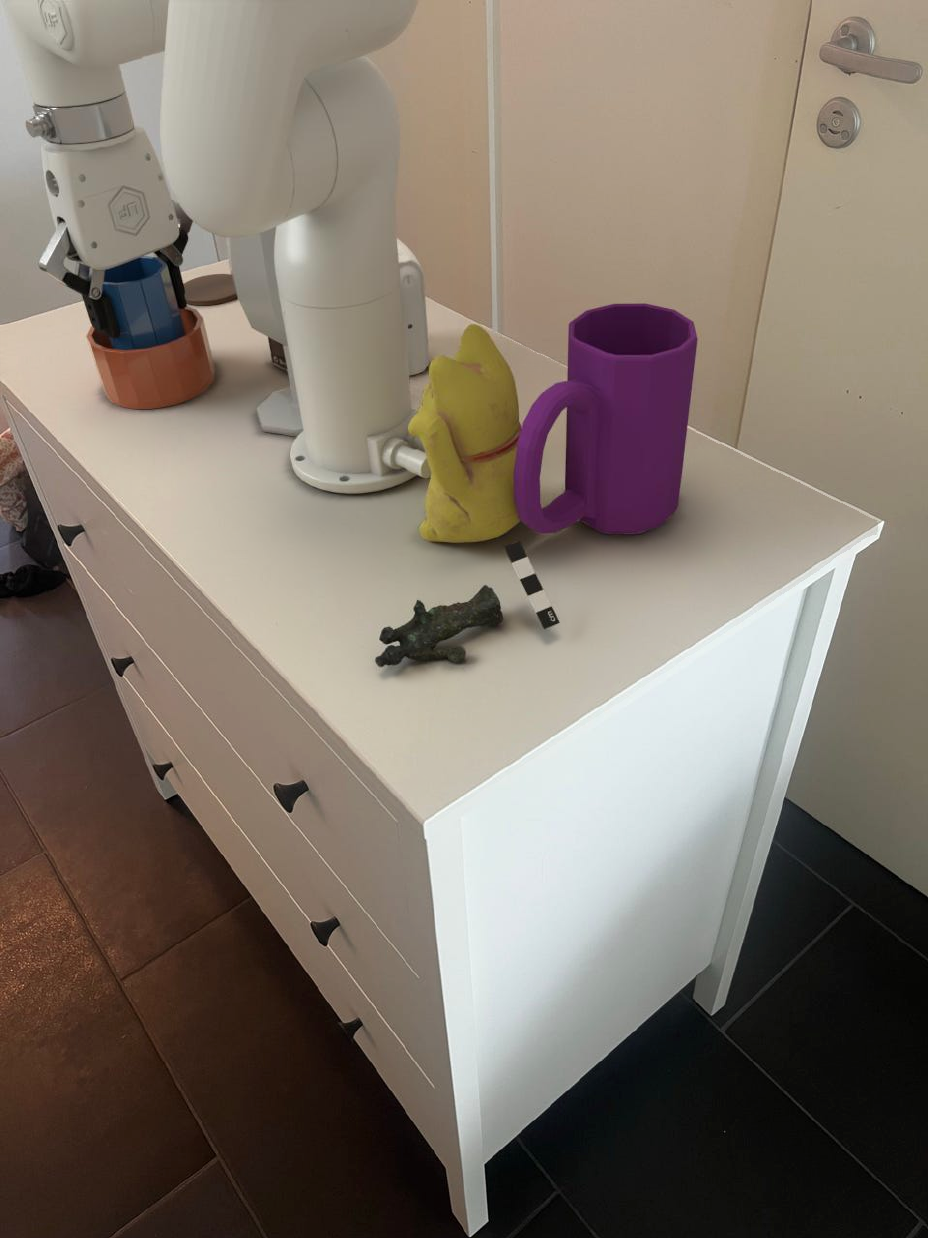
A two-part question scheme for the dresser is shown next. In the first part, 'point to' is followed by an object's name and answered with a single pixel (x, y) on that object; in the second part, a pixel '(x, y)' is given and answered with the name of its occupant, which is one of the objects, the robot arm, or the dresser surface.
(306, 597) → the dresser surface
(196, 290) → the coaster
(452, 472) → the figurine
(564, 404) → the mug
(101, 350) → the orange bowl
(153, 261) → the blue cup
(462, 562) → the dresser surface
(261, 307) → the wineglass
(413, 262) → the photo printer
